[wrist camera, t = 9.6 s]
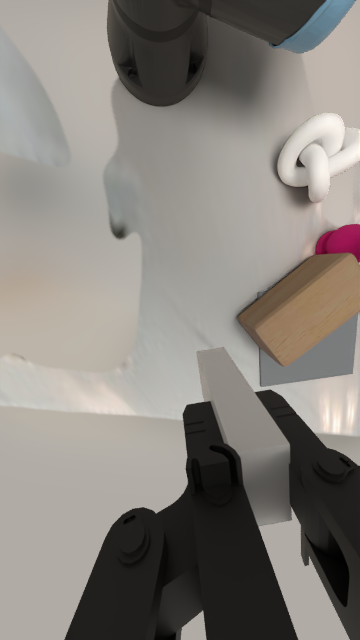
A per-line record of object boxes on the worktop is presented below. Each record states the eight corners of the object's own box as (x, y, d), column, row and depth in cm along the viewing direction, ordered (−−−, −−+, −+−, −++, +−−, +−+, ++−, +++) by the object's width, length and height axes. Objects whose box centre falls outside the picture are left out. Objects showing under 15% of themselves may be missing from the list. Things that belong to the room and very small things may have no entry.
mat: (257, 292, 46) (258, 292, 45) (358, 279, 47) (361, 279, 46) (260, 385, 51) (261, 386, 51) (350, 372, 52) (352, 373, 51)
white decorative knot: (317, 115, 39) (361, 72, 30) (346, 177, 42) (394, 154, 33) (264, 158, 40) (292, 129, 31) (296, 216, 43) (330, 203, 34)
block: (261, 349, 48) (336, 290, 46) (285, 371, 39) (382, 297, 36) (234, 316, 46) (312, 252, 44) (253, 330, 36) (354, 249, 34)
